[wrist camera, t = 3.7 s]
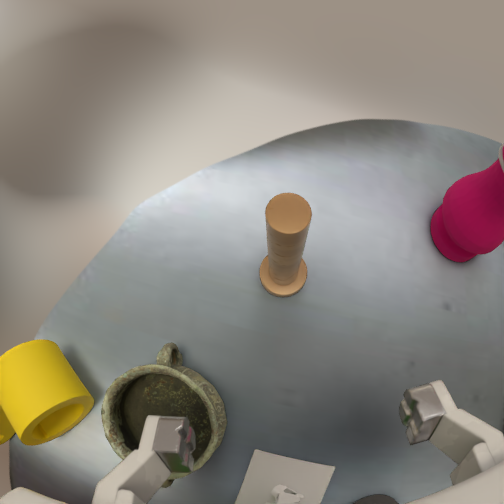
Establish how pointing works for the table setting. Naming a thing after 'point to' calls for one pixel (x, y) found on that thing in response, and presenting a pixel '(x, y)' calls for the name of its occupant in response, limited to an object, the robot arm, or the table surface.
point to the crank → (39, 393)
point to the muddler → (285, 244)
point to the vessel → (163, 406)
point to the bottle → (376, 500)
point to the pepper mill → (471, 214)
